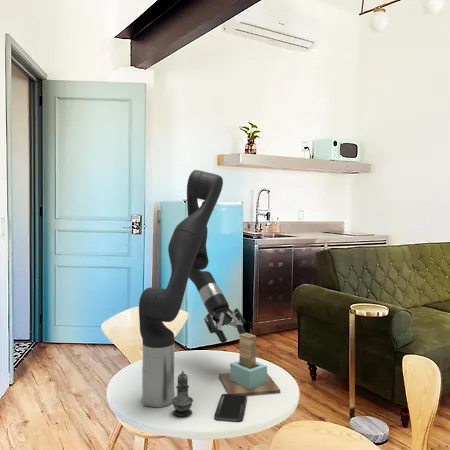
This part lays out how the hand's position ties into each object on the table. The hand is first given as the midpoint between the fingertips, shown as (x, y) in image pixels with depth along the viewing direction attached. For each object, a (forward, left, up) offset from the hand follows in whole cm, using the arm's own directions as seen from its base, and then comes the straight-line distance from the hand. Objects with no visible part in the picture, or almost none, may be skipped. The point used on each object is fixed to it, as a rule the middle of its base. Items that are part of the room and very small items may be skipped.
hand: (234, 339), depth 149 cm
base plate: (+3, -6, -13) cm, 15 cm away
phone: (-6, -21, -14) cm, 26 cm away
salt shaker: (-20, -21, -13) cm, 32 cm away
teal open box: (+3, -6, -13) cm, 15 cm away
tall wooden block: (+3, -6, -11) cm, 13 cm away
